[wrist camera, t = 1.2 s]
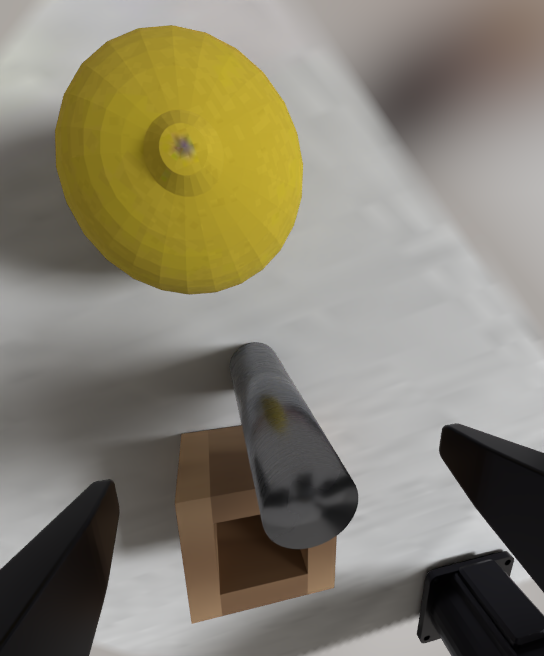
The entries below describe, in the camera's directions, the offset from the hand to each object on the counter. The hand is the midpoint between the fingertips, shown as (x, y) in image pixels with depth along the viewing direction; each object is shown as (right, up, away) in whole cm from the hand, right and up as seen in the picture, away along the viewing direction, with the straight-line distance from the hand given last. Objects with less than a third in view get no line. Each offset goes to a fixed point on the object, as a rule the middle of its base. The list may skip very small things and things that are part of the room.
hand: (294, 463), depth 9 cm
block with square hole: (-2, -4, +8) cm, 9 cm away
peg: (-1, +2, +6) cm, 6 cm away
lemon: (-4, +8, +4) cm, 10 cm away
